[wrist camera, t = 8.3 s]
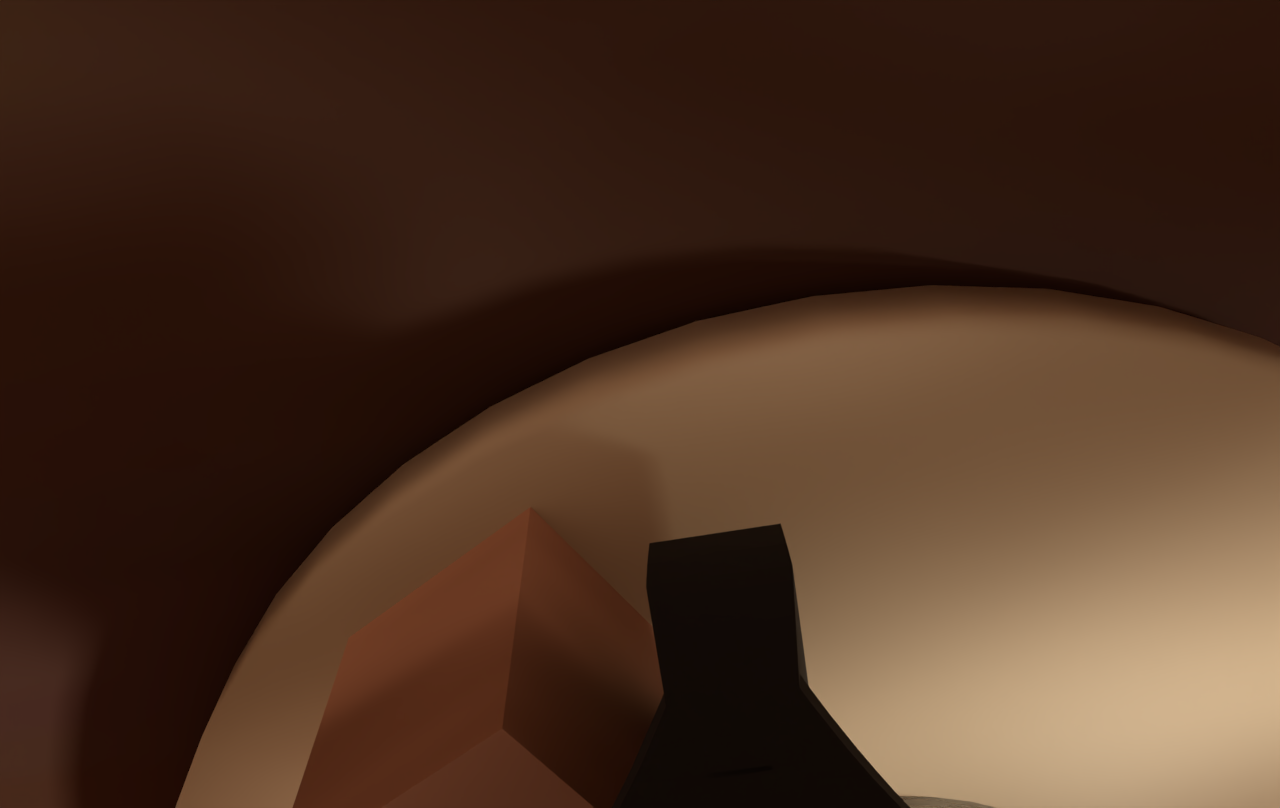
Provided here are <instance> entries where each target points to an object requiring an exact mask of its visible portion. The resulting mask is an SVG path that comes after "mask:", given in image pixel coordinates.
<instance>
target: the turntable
mask: <svg viewBox="0 0 1280 808" xmlns="http://www.w3.org/2000/svg"><path fill="white" fill-rule="evenodd" d="M780 523H781V526H782V530H783V533H784V536H785V540H786V543H787V547H788V550H789V554H790V558H791V562H792V565H793V573H794V580H795V588H796V595H797V602H798V610H799V617H800V625H801V632H802V640H803V647H804V655H805V662H806V670H807V677H808V685H809V687H810V689H811V690H812V691H813V693H814V694H815V695H816V697H817V698H818V699H819V701H820V702H821V703H822V705H823V706H824V707H825V709H826V710H827V711H828V713H829V714H830V715H831V716H832V718H833V719H834V720H835V721H836V723H837V724H838V725H839V726H840V728H841V729H842V730H843V731H844V732H845V734H846V735H847V736H848V737H849V739H850V740H851V741H852V742H853V744H854V745H855V746H856V747H857V749H858V750H859V751H860V752H861V753H862V754H863V756H864V757H865V758H866V759H867V760H868V762H869V763H870V764H871V765H872V766H873V767H874V769H875V770H876V771H877V772H878V773H879V774H880V775H881V776H882V778H883V779H884V780H885V781H886V782H887V783H888V784H889V785H890V787H891V788H892V789H893V790H894V791H895V792H896V793H897V794H898V795H899V796H918V797H938V798H946V799H954V800H962V801H970V802H975V803H979V804H983V805H988V806H992V807H996V808H1280V346H1278V345H1275V344H1273V343H1271V342H1269V341H1267V340H1265V339H1263V338H1261V337H1258V336H1254V335H1251V334H1248V333H1245V332H1241V331H1238V330H1235V329H1231V328H1228V327H1225V326H1222V325H1218V324H1215V323H1212V322H1208V321H1205V320H1202V319H1198V318H1195V317H1192V316H1189V315H1185V314H1182V313H1179V312H1175V311H1172V310H1169V309H1166V308H1162V307H1159V306H1153V305H1147V304H1140V303H1134V302H1128V301H1122V300H1115V299H1109V298H1103V297H1097V296H1090V295H1084V294H1078V293H1072V292H1065V291H1059V290H1053V289H1042V288H1009V287H976V286H943V285H927V286H916V287H905V288H895V289H884V290H873V291H862V292H851V293H840V294H829V295H819V296H811V297H806V298H801V299H797V300H792V301H787V302H783V303H778V304H773V305H769V306H764V307H760V308H755V309H750V310H746V311H741V312H736V313H732V314H727V315H722V316H718V317H713V318H708V319H704V320H699V321H696V322H693V323H690V324H687V325H684V326H681V327H678V328H675V329H672V330H669V331H667V332H664V333H661V334H658V335H655V336H652V337H649V338H646V339H643V340H640V341H638V342H635V343H632V344H629V345H626V346H623V347H620V348H617V349H614V350H611V351H609V352H606V353H603V354H600V355H597V356H594V357H591V358H588V359H586V360H584V361H582V362H580V363H578V364H576V365H574V366H572V367H570V368H568V369H566V370H564V371H562V372H560V373H558V374H556V375H554V376H552V377H550V378H548V379H546V380H544V381H542V382H539V383H537V384H535V385H533V386H531V387H529V388H527V389H525V390H523V391H521V392H519V393H517V394H515V395H513V396H511V397H509V398H507V399H505V400H503V401H501V402H499V403H497V404H495V405H493V406H490V407H489V408H487V409H486V410H484V411H483V412H481V413H480V414H478V415H477V416H475V417H474V418H472V419H471V420H469V421H468V422H466V423H465V424H463V425H462V426H460V427H459V428H457V429H456V430H454V431H453V432H451V433H450V434H448V435H447V436H445V437H444V438H442V439H441V440H439V441H438V442H436V443H435V444H433V445H432V446H430V447H429V448H427V449H426V450H424V451H423V452H421V453H420V454H418V455H416V456H415V457H413V458H412V459H410V460H409V461H407V462H406V463H404V464H403V465H402V466H401V467H400V468H399V469H398V470H396V471H395V472H394V473H393V474H392V475H391V476H390V477H389V478H387V479H386V480H385V481H384V482H383V483H382V484H381V485H379V486H378V487H377V488H376V489H375V490H374V491H373V492H372V493H370V494H369V495H368V496H367V497H366V498H365V499H364V500H363V501H361V502H360V503H359V504H358V505H357V506H356V507H355V508H353V509H352V510H351V511H350V512H349V513H348V514H347V515H346V516H344V517H343V518H342V519H341V520H340V521H339V522H338V523H336V524H335V525H334V526H333V527H332V528H331V529H330V531H329V532H328V533H327V534H326V535H325V537H324V538H323V539H322V540H321V541H320V543H319V544H318V545H317V546H316V547H315V549H314V550H313V551H312V552H311V553H310V555H309V556H308V557H307V558H306V559H305V560H304V562H303V563H302V564H301V565H300V566H299V568H298V569H297V570H296V571H295V572H294V574H293V575H292V576H291V577H290V578H289V580H288V581H287V582H286V583H285V584H284V586H283V587H282V588H281V589H280V590H279V592H278V593H277V594H276V595H275V597H274V599H273V601H272V602H271V604H270V606H269V607H268V609H267V611H266V612H265V614H264V616H263V617H262V619H261V621H260V622H259V624H258V626H257V627H256V629H255V631H254V633H253V634H252V636H251V638H250V639H249V641H248V643H247V644H246V646H245V648H244V649H243V651H242V653H241V654H240V656H239V658H238V660H237V661H236V663H235V665H234V667H233V669H232V672H231V674H230V676H229V678H228V680H227V683H226V685H225V687H224V689H223V691H222V693H221V696H220V698H219V700H218V702H217V704H216V707H215V709H214V711H213V713H212V715H211V718H210V720H209V722H208V724H207V726H206V729H205V731H204V733H203V735H202V737H201V740H200V743H199V745H198V748H197V751H196V753H195V756H194V759H193V761H192V764H191V767H190V769H189V772H188V775H187V777H186V780H185V783H184V786H183V788H182V791H181V794H180V796H179V799H178V802H177V804H176V807H175V808H612V806H613V804H614V802H615V800H616V798H617V796H618V794H619V792H620V790H621V788H622V786H623V784H624V782H625V780H626V778H627V776H628V774H629V772H630V770H631V768H632V765H633V763H634V761H635V759H636V756H637V754H638V752H639V749H640V747H641V745H642V743H643V740H644V738H645V736H646V733H647V731H648V729H649V727H650V724H651V722H652V720H653V717H654V715H655V713H656V711H657V708H658V706H659V704H660V701H661V699H662V696H663V694H664V692H663V686H662V680H661V674H660V668H659V662H658V656H657V650H656V644H655V638H654V632H653V626H652V620H651V614H650V608H649V602H648V596H647V590H646V577H647V561H648V551H649V543H654V542H661V541H667V540H674V539H681V538H687V537H694V536H701V535H707V534H714V533H721V532H727V531H734V530H740V529H747V528H754V527H760V526H767V525H774V524H780Z"/></svg>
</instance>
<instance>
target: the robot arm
mask: <svg viewBox="0 0 1280 808" xmlns="http://www.w3.org/2000/svg"><path fill="white" fill-rule="evenodd" d="M646 590H647V596H648V602H649V608H650V614H651V620H652V626H653V632H654V638H655V644H656V650H657V656H658V662H659V668H660V674H661V680H662V686H663V692H664V694H663V696H662V699H661V701H660V704H659V706H658V708H657V711H656V713H655V715H654V717H653V720H652V722H651V724H650V727H649V729H648V731H647V733H646V736H645V738H644V740H643V743H642V745H641V747H640V749H639V752H638V754H637V756H636V759H635V761H634V763H633V765H632V768H631V770H630V772H629V774H628V776H627V778H626V780H625V782H624V784H623V786H622V788H621V790H620V792H619V794H618V796H617V798H616V800H615V802H614V804H613V806H612V808H910V807H909V806H908V805H907V804H906V803H905V802H904V800H903V799H902V798H901V797H900V796H899V795H898V794H897V793H896V792H895V791H894V790H893V789H892V788H891V787H890V785H889V784H888V783H887V782H886V781H885V780H884V779H883V778H882V776H881V775H880V774H879V773H878V772H877V771H876V770H875V769H874V767H873V766H872V765H871V764H870V763H869V762H868V760H867V759H866V758H865V757H864V756H863V754H862V753H861V752H860V751H859V750H858V749H857V747H856V746H855V745H854V744H853V742H852V741H851V740H850V739H849V737H848V736H847V735H846V734H845V732H844V731H843V730H842V729H841V728H840V726H839V725H838V724H837V723H836V721H835V720H834V719H833V718H832V716H831V715H830V714H829V713H828V711H827V710H826V709H825V707H824V706H823V705H822V703H821V702H820V701H819V699H818V698H817V697H816V695H815V694H814V693H813V691H812V690H811V689H810V687H809V685H808V677H807V670H806V662H805V655H804V647H803V640H802V632H801V625H800V617H799V610H798V602H797V595H796V588H795V580H794V573H793V565H792V562H791V558H790V554H789V550H788V547H787V543H786V540H785V536H784V533H783V530H782V526H781V523H780V524H774V525H767V526H760V527H754V528H747V529H740V530H734V531H727V532H721V533H714V534H707V535H701V536H694V537H687V538H681V539H674V540H667V541H661V542H654V543H649V551H648V561H647V577H646Z"/></svg>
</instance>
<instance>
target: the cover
mask: <svg viewBox="0 0 1280 808" xmlns="http://www.w3.org/2000/svg"><path fill="white" fill-rule="evenodd" d="M900 797H901V798H902V799H903V800H904V802H905V803H906V804H907V805H908V806H909V807H910V808H996V807H992V806H988V805H983V804H979V803H975V802H970V801H962V800H954V799H946V798H938V797H918V796H900Z"/></svg>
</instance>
